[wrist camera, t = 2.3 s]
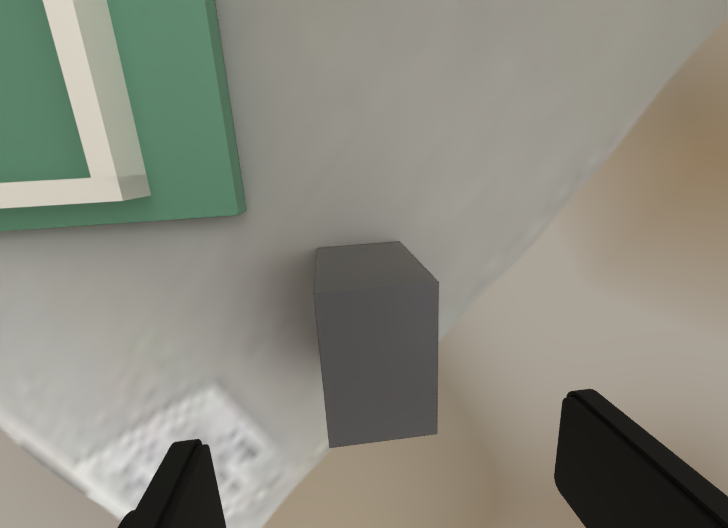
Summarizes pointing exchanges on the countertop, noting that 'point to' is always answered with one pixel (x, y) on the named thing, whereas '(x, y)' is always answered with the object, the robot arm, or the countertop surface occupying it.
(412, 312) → the plug
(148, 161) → the board
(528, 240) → the countertop surface
